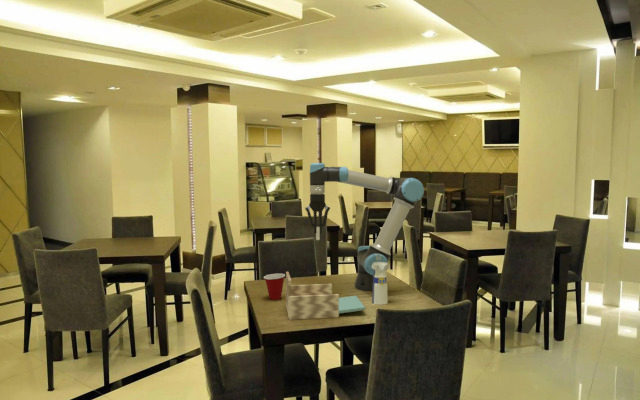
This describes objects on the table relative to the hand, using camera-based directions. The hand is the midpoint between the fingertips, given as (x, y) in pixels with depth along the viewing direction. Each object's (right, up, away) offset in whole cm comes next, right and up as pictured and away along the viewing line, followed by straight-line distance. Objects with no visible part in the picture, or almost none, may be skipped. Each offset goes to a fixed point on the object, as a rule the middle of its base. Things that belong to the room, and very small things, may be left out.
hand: (317, 239), depth 240 cm
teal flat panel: (+8, -29, -22) cm, 38 cm away
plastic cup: (-22, -30, -2) cm, 37 cm away
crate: (-3, -31, -24) cm, 39 cm away
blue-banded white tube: (+31, -30, -10) cm, 44 cm away
